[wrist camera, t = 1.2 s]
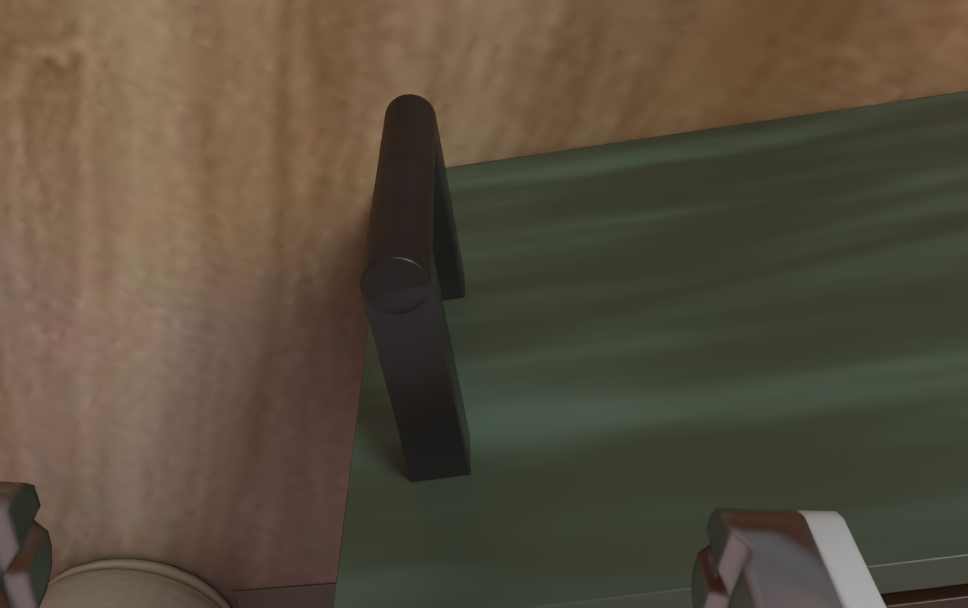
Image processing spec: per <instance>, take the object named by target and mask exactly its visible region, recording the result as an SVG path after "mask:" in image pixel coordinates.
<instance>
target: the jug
mask: <svg viewBox="0 0 968 608" xmlns="http://www.w3.org/2000/svg"><path fill="white" fill-rule="evenodd" d="M40 608H231V607H230V606H229V604H228V603H227V601H226V600H225V599H224V598H223V597H222V595H220V594H219V593H218V592H217V591H216V590H214V589H213V588H212V587H210V586H209V585H208V584H207V583H206V582H204V581H203V580H201V579H200V578H198V577H196V576H195V575H193V574H191V573H188V572H186V571H183V570H181V569H178V568H176V567H173V566H169V565H166V564H163V563H160V562H154V561H147V560H141V559H104V560H98V561H93V562H90V563H86V564H82V565H78V566H76V567H73V568H71V569H68V570H66V571H65V572H63V573H61V574H60V575H58V576H57V577H55V578H54V579H53V580H51V581H50V582H49V583H48V588H47V591H46V593H45V596H44V598H43V600H42V603H41V605H40Z"/></svg>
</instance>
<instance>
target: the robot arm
mask: <svg viewBox="0 0 968 608" xmlns="http://www.w3.org/2000/svg"><path fill="white" fill-rule="evenodd" d="M40 505H41V504H40V501H39V498H38V495H37V492H36V489H35V486H34V485H31V484H27V483H17V482H1V481H0V608H40V605H41V603H42V600H43V598H44V596H45V593H46V591H47V588H48V583H49V578H50V573H51V568H52V545H51V541H50V537H49V533H48V531H47V530H46V529H45V528H44V527H42V526H41V525H40V524H38V523H37V522H36V521H35V520H34V518H35V516H36V514H37V512H38V510H39V508H40ZM706 531H707V534H708V538H709V541H710V544H709V545H708V546H706V547H705V548H703V549H702V550H701V551H699V552H698V553H697V557H696V560H695V564H694V567H693V571H692V589H691V594H692V602H693V608H887V607H886V605H885V603H884V601H883V599H882V597H881V595H880V593H879V591H878V589H877V587H876V585H875V582H874V580H873V578H872V576H871V574H870V572H869V570H868V568H867V566H866V564H865V562H864V560H863V558H862V556H861V553H860V551H859V549H858V547H857V545H856V543H855V541H854V539H853V537H852V535H851V533H850V531H849V529H848V527H847V524H846V522H845V520H844V518H843V517H842V516H841V515H840V514H838V513H837V512H836V511H809V510H796V511H793V510H786V509H747V508H716V509H715V510H714V512H713V513H712V514H711V515H710V518H709V521H708V524H707V527H706Z"/></svg>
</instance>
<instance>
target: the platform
mask: <svg viewBox="0 0 968 608" xmlns="http://www.w3.org/2000/svg"><path fill="white" fill-rule="evenodd" d="M335 589H336V583H334V584H321V585H308V586H296V587H283V588H270V589H258V590H245V591H232V592H233V594H234V597H235V600H236V603H237V606H238V608H333V605H334V597H335Z"/></svg>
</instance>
